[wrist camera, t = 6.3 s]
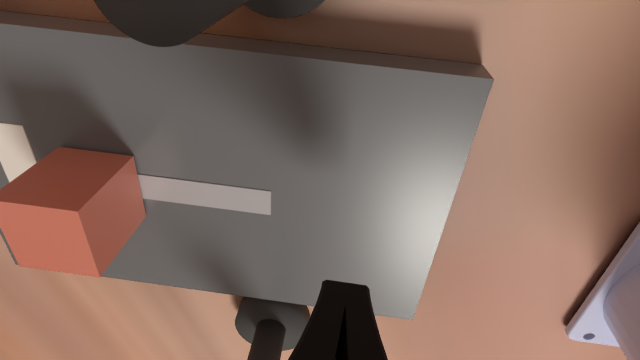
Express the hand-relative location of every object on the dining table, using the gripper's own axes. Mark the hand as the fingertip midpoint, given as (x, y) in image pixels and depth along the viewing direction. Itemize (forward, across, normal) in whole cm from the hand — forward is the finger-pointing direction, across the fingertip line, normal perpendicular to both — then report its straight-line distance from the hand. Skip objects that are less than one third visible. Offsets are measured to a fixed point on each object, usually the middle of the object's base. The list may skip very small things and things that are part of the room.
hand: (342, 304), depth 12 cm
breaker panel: (+6, +6, 0) cm, 9 cm away
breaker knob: (+4, +10, 0) cm, 11 cm away
